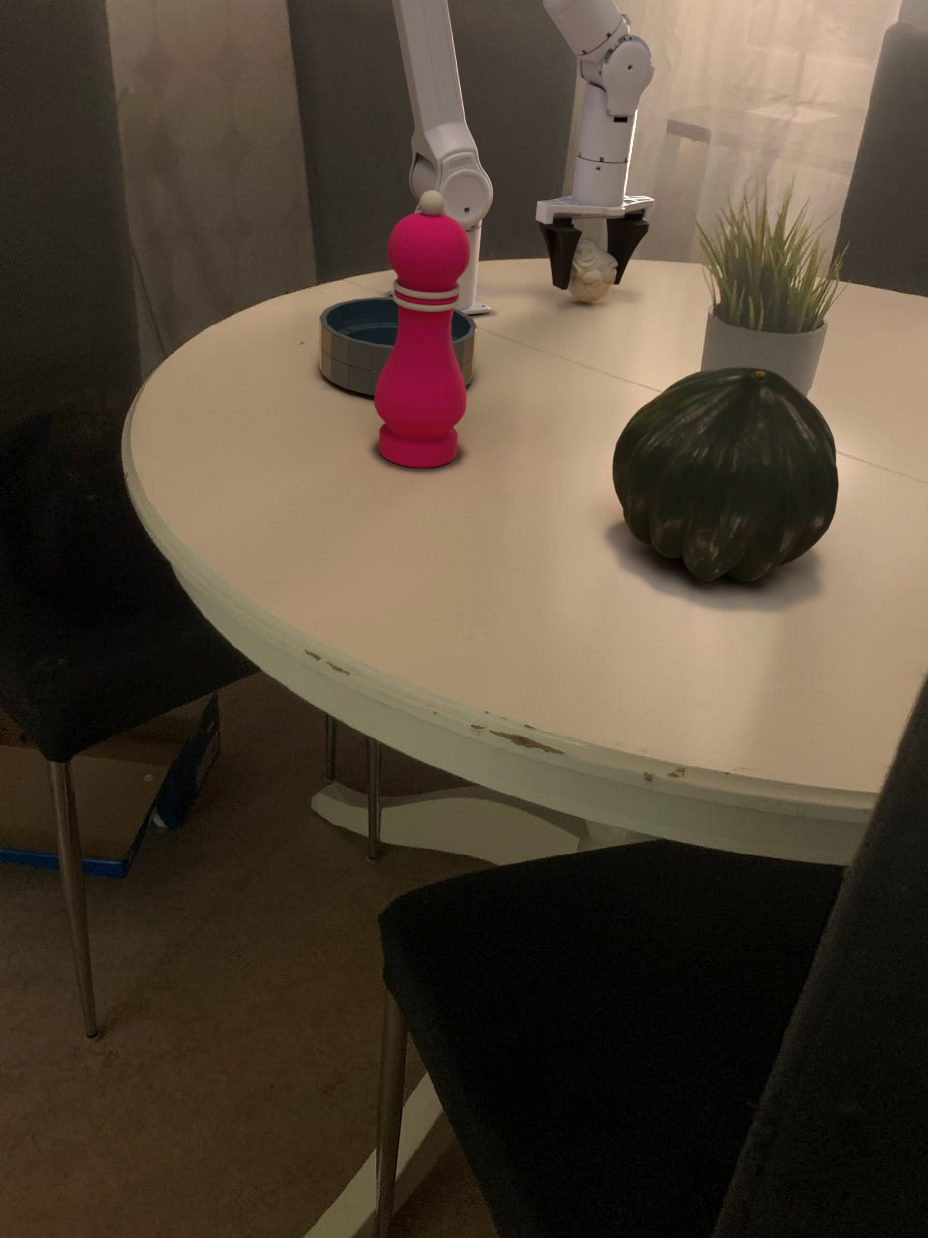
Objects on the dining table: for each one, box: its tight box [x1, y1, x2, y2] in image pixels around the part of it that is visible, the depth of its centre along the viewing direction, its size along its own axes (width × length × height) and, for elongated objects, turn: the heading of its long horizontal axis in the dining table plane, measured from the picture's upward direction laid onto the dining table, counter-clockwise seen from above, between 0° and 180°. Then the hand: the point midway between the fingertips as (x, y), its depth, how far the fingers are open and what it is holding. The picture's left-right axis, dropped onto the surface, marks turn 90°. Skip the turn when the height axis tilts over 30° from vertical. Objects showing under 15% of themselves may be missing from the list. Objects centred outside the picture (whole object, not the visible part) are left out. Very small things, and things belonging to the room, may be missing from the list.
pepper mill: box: [373, 190, 470, 469], centre depth 81 cm, size 7×7×20 cm
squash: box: [611, 365, 840, 582], centre depth 73 cm, size 14×15×15 cm
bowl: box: [318, 296, 478, 396], centre depth 99 cm, size 14×14×5 cm
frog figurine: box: [567, 237, 618, 303], centre depth 123 cm, size 6×7×7 cm
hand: (585, 284), depth 123 cm, fingers closed on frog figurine, 7 cm apart
